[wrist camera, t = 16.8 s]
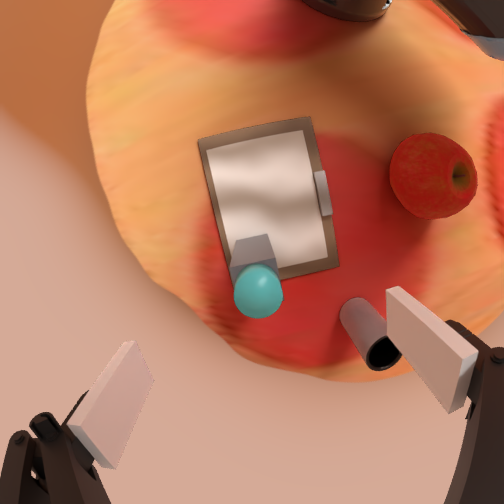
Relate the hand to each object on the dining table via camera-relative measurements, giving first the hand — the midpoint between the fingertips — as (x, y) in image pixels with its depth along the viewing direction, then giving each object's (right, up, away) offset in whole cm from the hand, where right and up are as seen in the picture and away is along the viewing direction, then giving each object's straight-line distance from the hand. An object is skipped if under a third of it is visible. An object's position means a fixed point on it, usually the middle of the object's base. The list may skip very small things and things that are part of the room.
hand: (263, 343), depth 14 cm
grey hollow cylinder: (+13, -3, +22) cm, 26 cm away
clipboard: (+2, +10, +19) cm, 21 cm away
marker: (0, +4, +19) cm, 20 cm away
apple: (+20, +14, +18) cm, 31 cm away
